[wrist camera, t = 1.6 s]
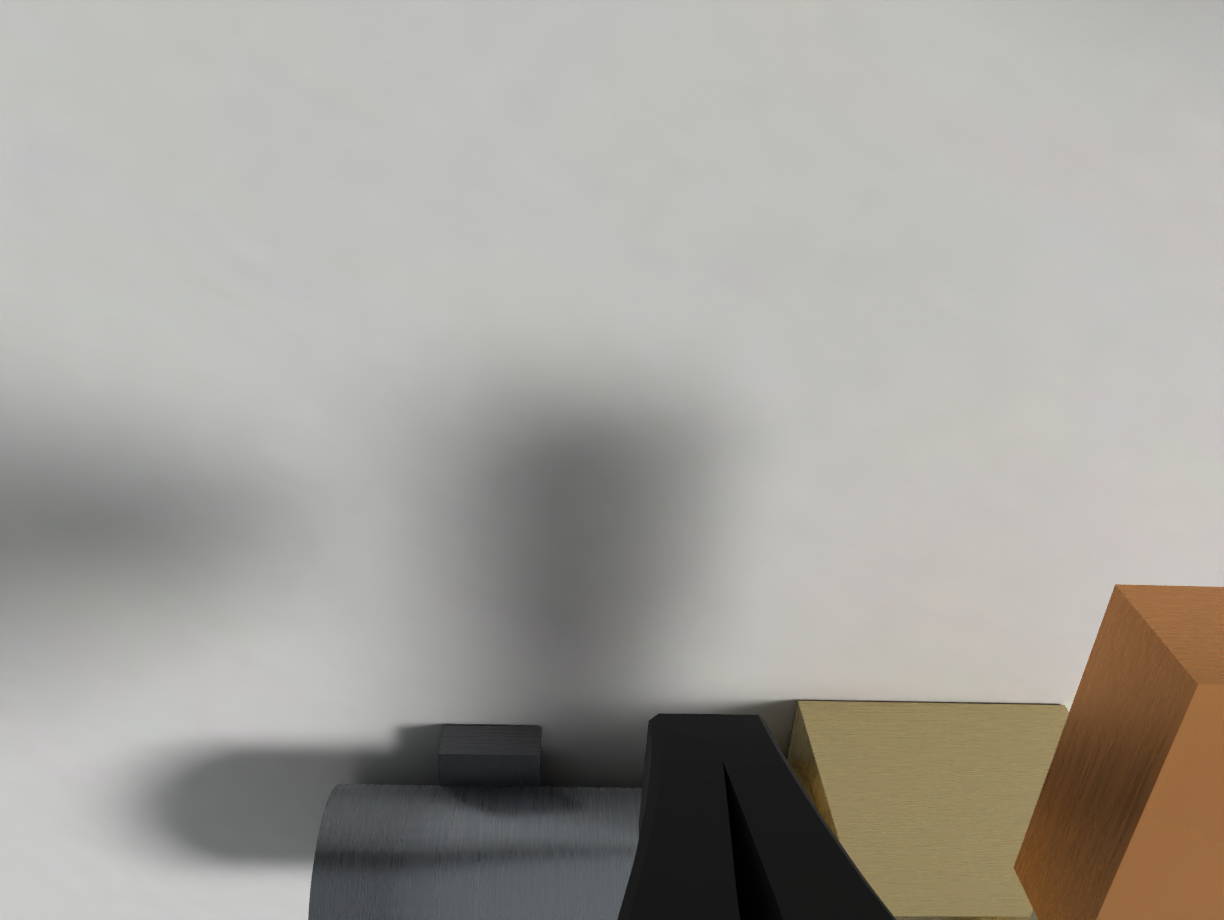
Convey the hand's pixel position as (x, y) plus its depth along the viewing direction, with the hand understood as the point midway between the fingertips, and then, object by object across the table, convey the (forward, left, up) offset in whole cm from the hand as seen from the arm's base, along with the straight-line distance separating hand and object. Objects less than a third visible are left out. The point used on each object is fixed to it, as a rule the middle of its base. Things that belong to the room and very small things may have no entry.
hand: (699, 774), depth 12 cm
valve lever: (-3, -6, -1) cm, 7 cm away
